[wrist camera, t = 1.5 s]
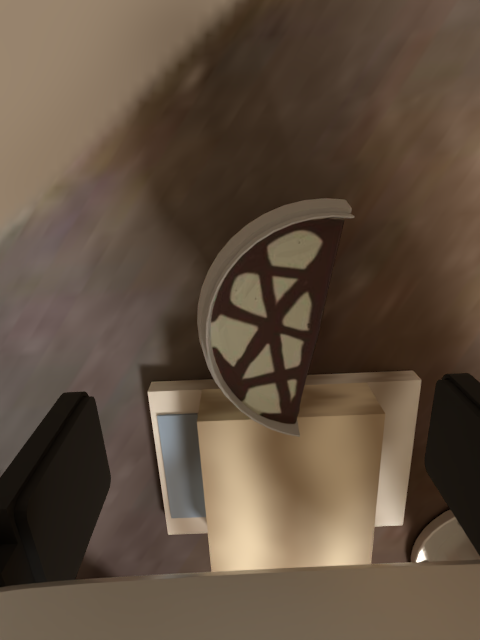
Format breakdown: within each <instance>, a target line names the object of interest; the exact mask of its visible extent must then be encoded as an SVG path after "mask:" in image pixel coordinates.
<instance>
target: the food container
mask: <svg viewBox="0 0 480 640" xmlns="http://www.w3.org/2000/svg"><path fill="white" fill-rule="evenodd" d="M351 211H352V208H351V206H350V205H349V204H348V202H347V201H346V200H345V199H330V198H322V199H311V200H303V201H299V202H295V203H291V204H287V205H283V206H281V207H279V208H276V209H274V210H272V211H269V212H267V213H265V214H263V215H261V216H260V217H258V218H257V219H255V220H253V221H252V222H250V223H249V224H247V225H246V226H245V227H243V228H242V229H241V230H240V231H239V232H238V233H237V234H235V235H234V236H233V237H232V238H231V239H230V240H229V241H228V243H227V244H226V245H225V246H224V247H223V249H222V250H221V251H220V252H219V253H218V255H217V257H216V258H215V260H214V262H213V263H212V265H211V267H210V268H209V270H208V273H207V275H206V278H205V280H204V283H203V285H202V288H201V293H200V298H199V302H198V314H197V326H198V334H199V341H200V344H201V347H202V351H203V354H204V357H205V360H206V363H207V366H208V369H209V371H210V373H211V375H212V377H213V379H214V381H215V383H216V384H217V385H218V387H219V388H220V389H221V391H222V392H223V394H224V395H225V396H226V397H227V398H228V399H229V400H230V401H231V402H232V403H233V404H234V405H235V406H236V407H237V408H238V409H239V410H240V411H241V412H242V413H244V414H245V415H247V416H248V417H249V418H251V419H252V420H253V421H255V422H257V423H259V424H261V425H263V426H265V427H267V428H269V429H271V430H274V431H277V432H280V433H283V434H287V435H292V436H297V437H300V432H299V427H298V421H297V416H298V414H299V410H300V403H301V398H302V394H303V390H304V386H305V382H306V378H307V374H308V370H309V367H310V363H311V359H312V356H313V352H314V349H315V346H316V342H317V339H318V335H319V331H320V326H321V321H322V316H323V311H324V306H325V301H326V297H327V292H328V288H329V283H330V279H331V275H332V270H333V266H334V262H335V258H336V254H337V249H338V245H339V241H340V237H341V232H342V228H343V224H344V219H342V218H354V216H353V215H352V214H351Z"/></svg>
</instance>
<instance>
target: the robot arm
mask: <svg viewBox="0 0 480 640" xmlns="http://www.w3.org/2000/svg"><path fill="white" fill-rule="evenodd" d="M425 467H426V470H427V473H428V475H429V476H430V478H431V479H432V481H433V482H434V484H435V486H436V487H437V489H438V490H439V492H440V494H441V495H442V497H443V498H444V500H445V502H446V503H447V505H448V506H449V508H450V510H448V511H446V512H444V513H443V514H441V515H440V516H438V517H437V518H435V519H434V520H433V521H432V522H431V523H429V524H428V525H427V526H426V527H425V528H424V530H423V531H422V532H421V534H420V535H419V536H418V538H417V539H416V542H415V544H414V546H413V549H412V553H411V562H407V563H384V564H361V565H339V566H318V567H297V568H277V569H256V570H236V571H217V572H199V573H180V574H162V575H143V576H125V577H109V578H94V579H79V580H75V578H76V575H77V573H78V570H79V567H80V565H81V562H82V559H83V557H84V554H85V552H86V549H87V546H88V544H89V541H90V538H91V536H92V533H93V530H94V528H95V525H96V522H97V520H98V517H99V514H100V512H101V509H102V507H103V504H104V501H105V499H106V496H107V493H108V491H109V488H110V482H111V475H110V470H109V465H108V460H107V455H106V450H105V445H104V440H103V436H102V431H101V426H100V421H99V416H98V411H97V406H96V402H95V399H94V397H89V396H88V394H87V393H86V392H67V393H63V394H62V395H61V396H60V397H59V399H58V400H57V401H56V403H55V404H54V406H53V407H52V408H51V410H50V411H49V412H48V414H47V415H46V416H45V418H44V419H43V420H42V422H41V423H40V425H39V426H38V427H37V429H36V430H35V431H34V433H33V434H32V435H31V437H30V438H29V440H28V441H27V442H26V444H25V445H24V446H23V448H22V449H21V450H20V452H19V453H18V454H17V456H16V457H15V458H14V460H13V461H12V463H11V464H10V465H9V467H8V468H7V469H6V471H5V472H4V473H3V475H2V476H1V477H0V640H480V383H479V382H478V381H477V380H476V379H475V378H474V377H473V376H471V375H470V374H468V373H461V374H446V375H444V376H443V378H442V380H438V381H437V383H436V387H435V394H434V400H433V407H432V414H431V420H430V427H429V433H428V440H427V447H426V453H425Z"/></svg>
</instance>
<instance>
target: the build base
mask: <svg viewBox="0 0 480 640" xmlns="http://www.w3.org/2000/svg"><path fill="white" fill-rule="evenodd" d="M420 388H421V379H420V378H419V377H418V375H417V374H416V373H415V372H414V371H413V370H411V371H388V372H365V373H342V374H318V375H307V378H306V382H305V386H304V390H303V394H302V398H301V403H300V410H299V414H298V416H297V421H298V427H299V432H300V437H297V436H292V435H287V434H283V433H280V432H277V431H274V430H271V429H269V428H267V427H265V426H263V425H261V424H259V423H257V422H255V421H253V420H252V419H251V418H249V417H248V416H247V415H245V414H244V413H242V412H241V411H240V410H239V409H238V408H237V407H236V406H235V405H234V404H233V403H232V402H231V401H230V400H229V399H228V398H227V397H226V396H225V395H224V394H223V392H222V391H221V389H220V388H219V387H218V385H217V384H216V383H215V381H214V379H203V380H180V381H157V382H151V385H150V387H149V390H148V398H149V405H150V412H151V419H152V426H153V433H154V440H155V447H156V454H157V461H158V468H159V474H160V481H161V488H162V495H163V502H164V509H165V516H166V523H167V530H168V535H171V534H196V533H208V539H209V550H210V560H211V570H212V572H217V571H236V570H256V569H277V568H297V567H318V566H339V565H361V564H371V557H372V547H373V537H374V526H398V525H403V520H404V512H405V504H406V496H407V489H408V481H409V473H410V465H411V458H412V450H413V442H414V434H415V427H416V419H417V411H418V403H419V396H420Z"/></svg>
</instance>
